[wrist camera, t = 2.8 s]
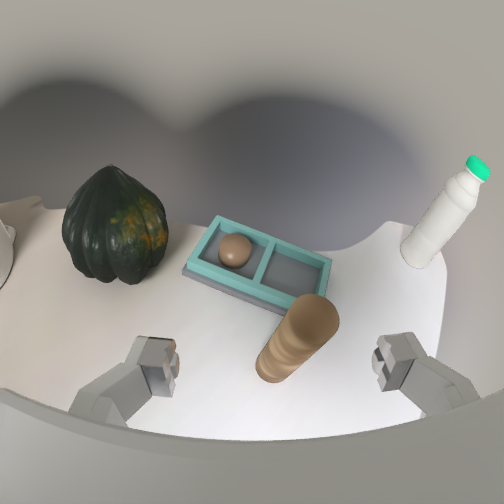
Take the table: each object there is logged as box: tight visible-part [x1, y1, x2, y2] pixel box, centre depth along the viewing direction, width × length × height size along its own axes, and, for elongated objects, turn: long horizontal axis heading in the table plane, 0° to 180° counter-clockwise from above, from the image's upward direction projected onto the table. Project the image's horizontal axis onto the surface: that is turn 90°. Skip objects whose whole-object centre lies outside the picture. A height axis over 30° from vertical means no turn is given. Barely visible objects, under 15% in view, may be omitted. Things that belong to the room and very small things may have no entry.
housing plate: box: [182, 215, 332, 316], centre depth 42 cm, size 20×11×4 cm, turn 71°
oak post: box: [256, 294, 339, 383], centre depth 29 cm, size 4×4×14 cm
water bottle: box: [401, 155, 490, 269], centre depth 43 cm, size 7×7×25 cm
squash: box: [62, 164, 168, 285], centre depth 36 cm, size 14×15×15 cm
